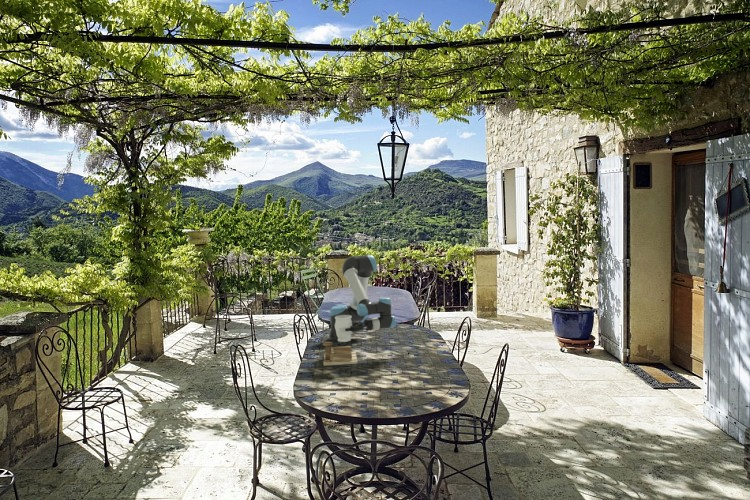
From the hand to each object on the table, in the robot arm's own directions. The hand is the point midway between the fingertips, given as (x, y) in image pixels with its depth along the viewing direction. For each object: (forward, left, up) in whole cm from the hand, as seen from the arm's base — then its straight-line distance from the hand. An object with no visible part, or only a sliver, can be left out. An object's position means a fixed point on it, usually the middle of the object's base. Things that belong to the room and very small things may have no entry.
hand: (337, 328), depth 323 cm
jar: (-1, +4, -8) cm, 9 cm away
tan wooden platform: (0, +1, -19) cm, 19 cm away
